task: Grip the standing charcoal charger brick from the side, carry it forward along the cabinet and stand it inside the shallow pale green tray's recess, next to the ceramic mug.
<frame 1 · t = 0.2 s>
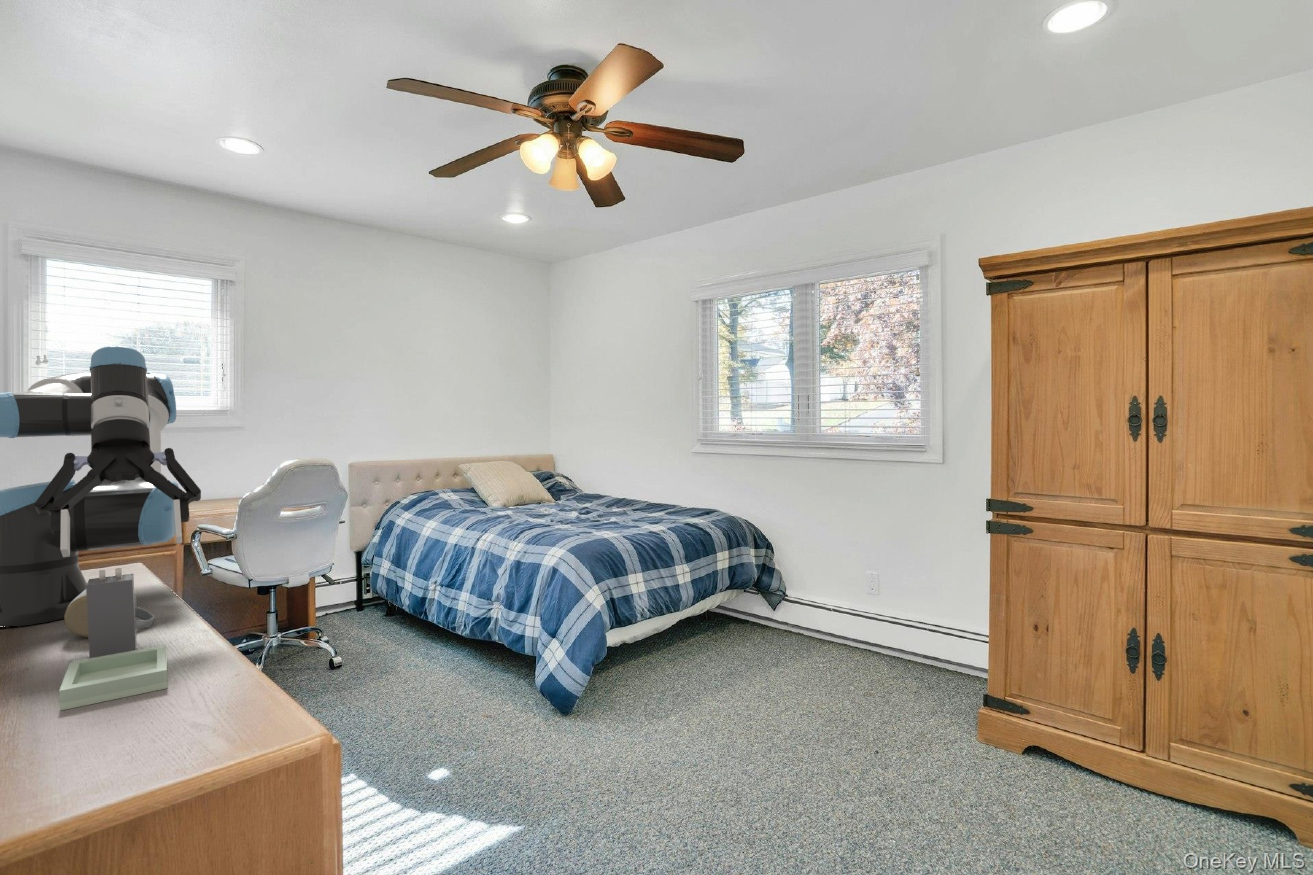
hand: (124, 546, 102), 14 cm above the cabinet, tool tilted 35°, fingers open, 13 cm apart
ceramic mug: (112, 632, 107), on the cabinet
charger brick: (114, 655, 95), on the cabinet
shallow pale green tray: (118, 683, 85), on the cabinet
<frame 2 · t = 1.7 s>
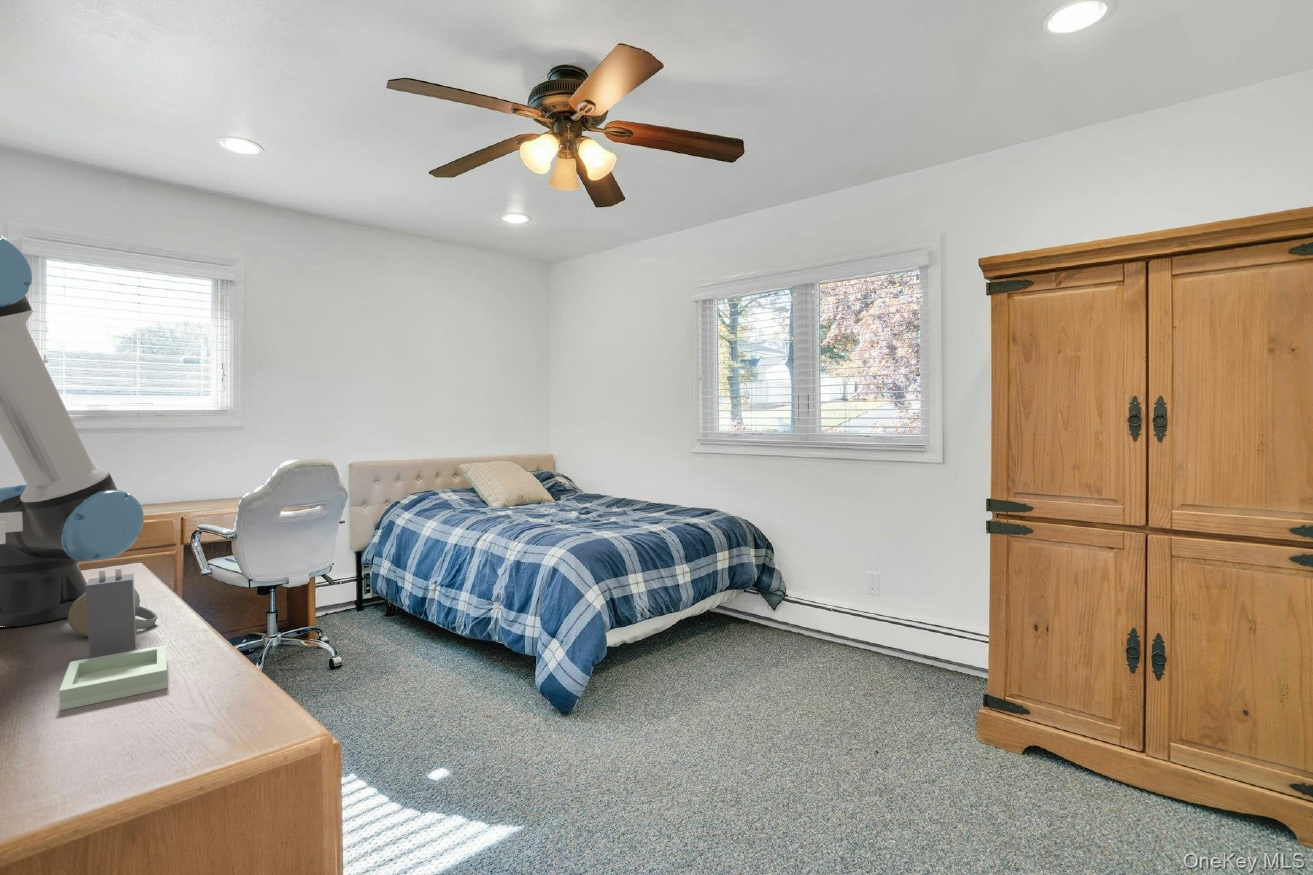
hand: (14, 526, 89), 20 cm above the cabinet, tool horizontal, fingers open, 13 cm apart
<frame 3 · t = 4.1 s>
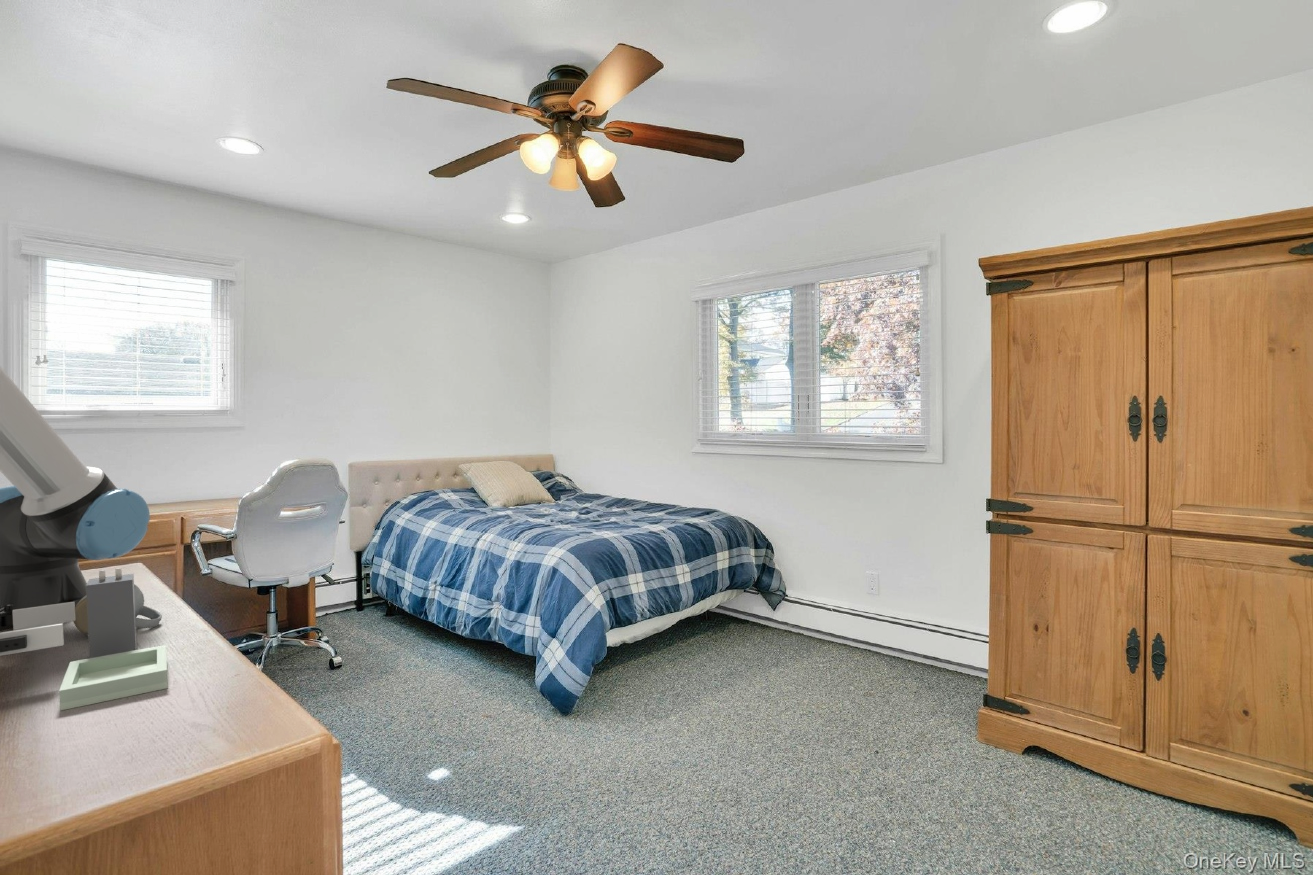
hand: (69, 621, 92), 6 cm above the cabinet, tool horizontal, fingers open, 13 cm apart
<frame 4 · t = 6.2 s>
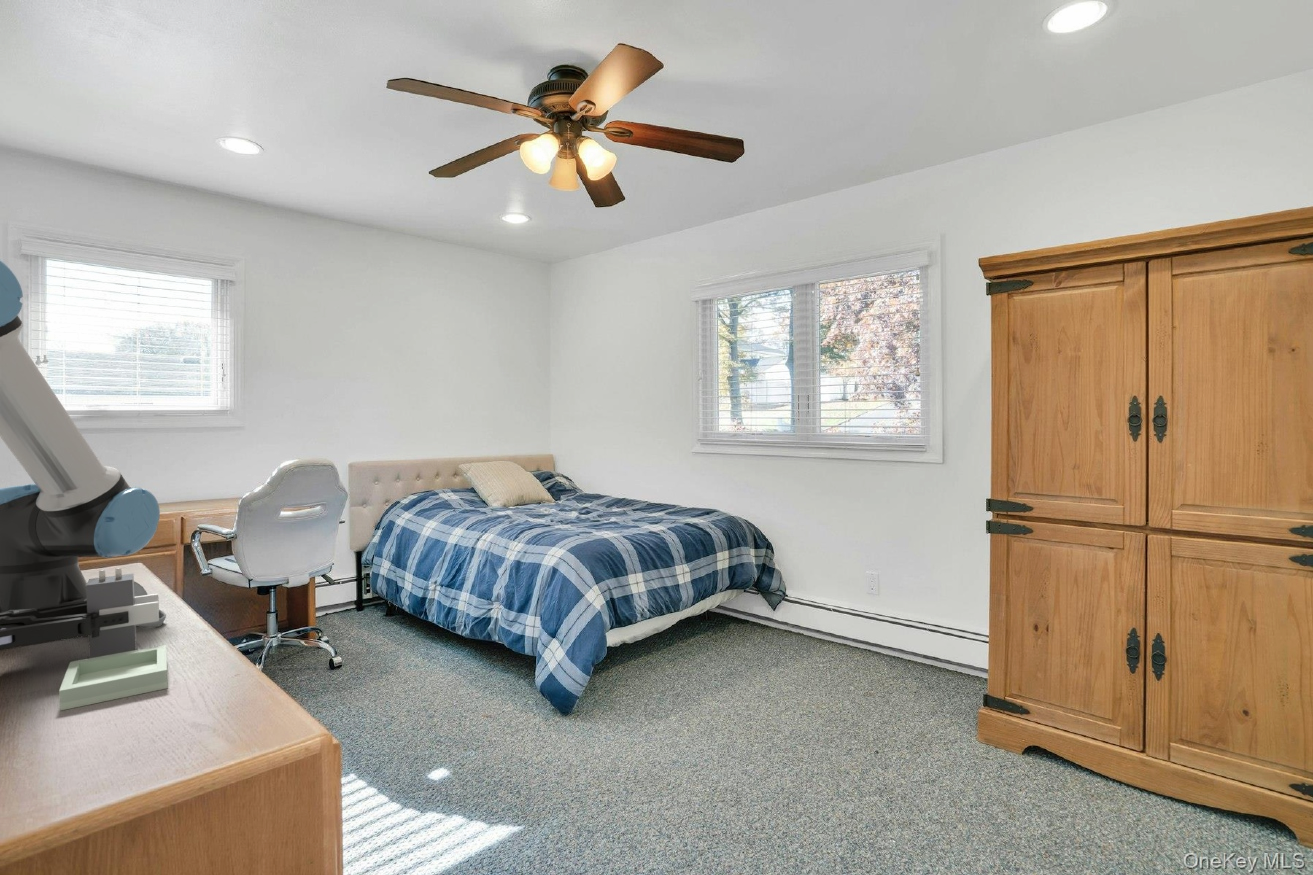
hand: (158, 606, 98), 6 cm above the cabinet, tool horizontal, fingers closed on charger brick, 5 cm apart
charger brick: (114, 655, 95), on the cabinet, touching gripper
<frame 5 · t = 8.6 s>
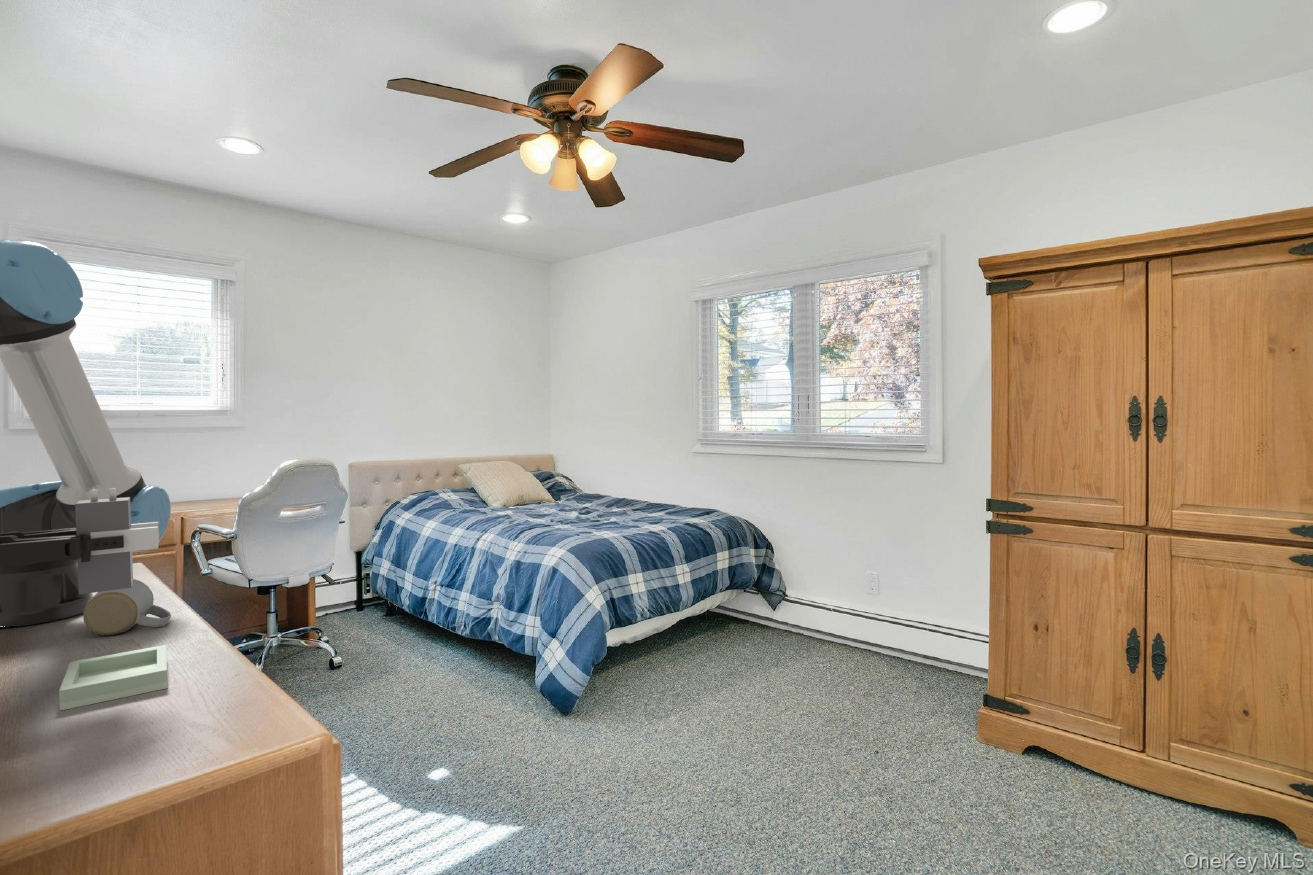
hand: (157, 534, 87), 18 cm above the cabinet, tool horizontal, fingers closed on charger brick, 5 cm apart
charger brick: (107, 587, 84), point 12 cm above the cabinet, touching gripper
when the fingers open (8 cm above the cabinet, at t = 10.8 s): charger brick drops 1 cm, resting on shallow pale green tray.
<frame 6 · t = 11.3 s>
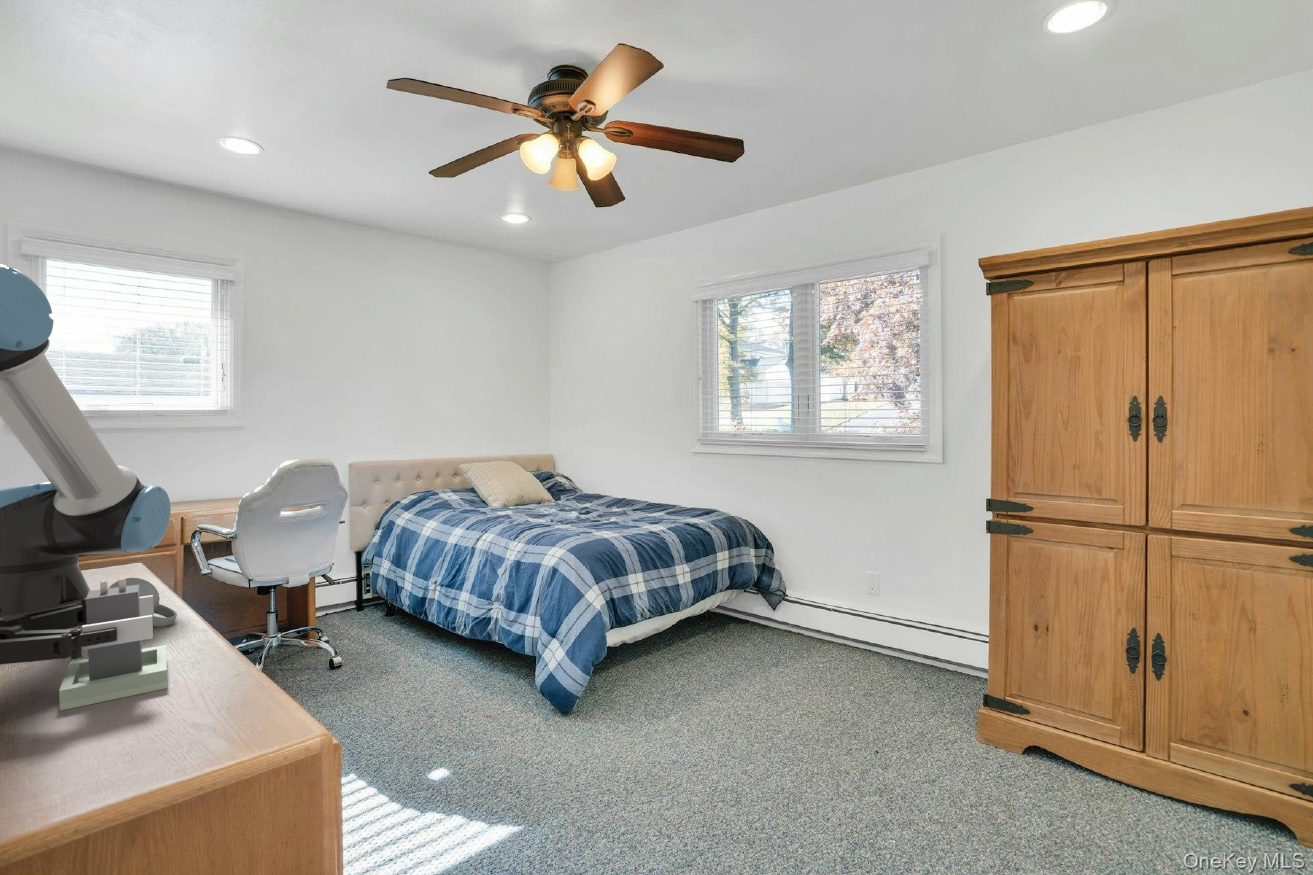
hand: (153, 615, 87), 8 cm above the cabinet, tool horizontal, fingers open, 11 cm apart
charger brick: (117, 677, 84), point 1 cm above the cabinet, touching shallow pale green tray
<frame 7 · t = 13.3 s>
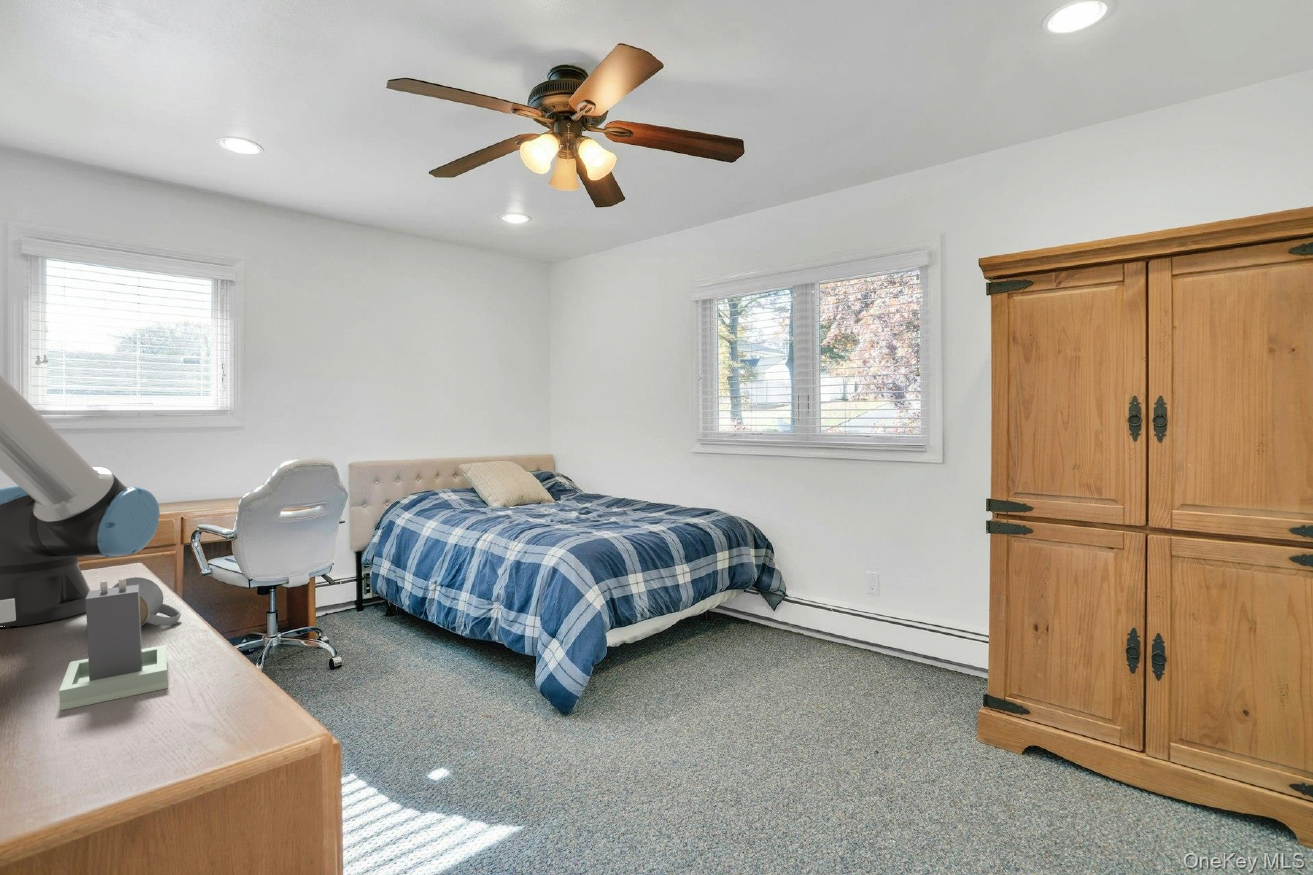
hand: (5, 622, 79), 10 cm above the cabinet, tool horizontal, fingers open, 13 cm apart
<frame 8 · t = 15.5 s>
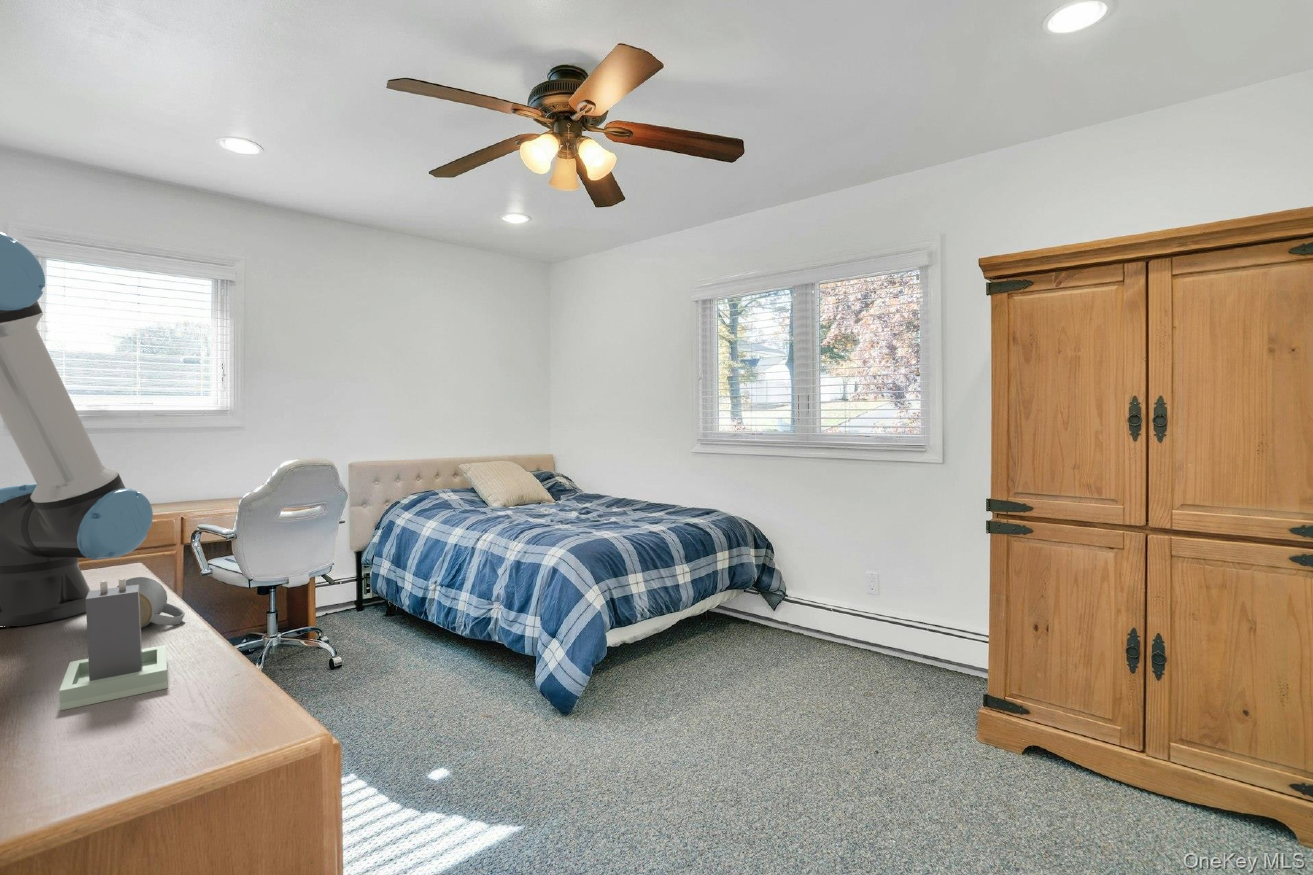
at the end: charger brick inside the target area on the shallow pale green tray (0.1 cm from its centre), point 0.8 cm above the shallow pale green tray's base; charger brick tilted 0°; the gripper is holding nothing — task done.
